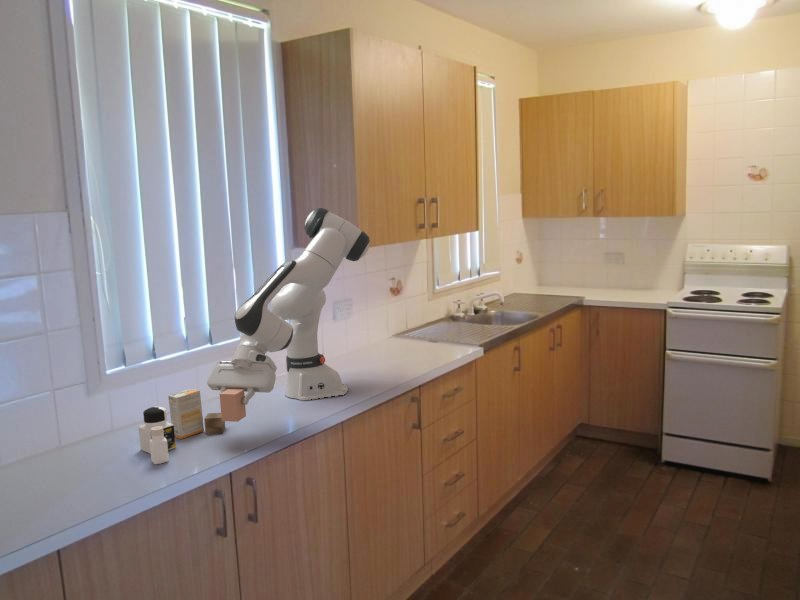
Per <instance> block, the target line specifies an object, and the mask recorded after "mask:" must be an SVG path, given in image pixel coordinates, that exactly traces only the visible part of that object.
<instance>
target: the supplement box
mask: <svg viewBox="0 0 800 600" xmlns="http://www.w3.org/2000/svg"><path fill="white" fill-rule="evenodd" d="M167 396H168V397H167V398H168V405H169V407H168V408H169V415H170V423H171V424H174V433H175V439H179V440H183V439H185V438H189V437H191V436H193V435H196V434H199V433H203V432H204V431H205V430H204V429H205V426H204V419H203V408H202V399H201V397H202V396H201V390H198V389H195V388H188V389H185V390H182V391H178V392H174V393H171V394H168V395H167Z"/></svg>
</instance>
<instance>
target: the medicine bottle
mask: <svg viewBox="0 0 800 600" xmlns="http://www.w3.org/2000/svg"><path fill="white" fill-rule="evenodd" d="M142 414H143V424H142V425H139V426H138V436H139V444H140V445H139V446H140V450H141V451H144V452H145V453H148V454H149V455H151V453H150V443H149V441H150V440H151V439H152V436H151V428H153V427H156V426H162V427H163V432H164V434H163V435H164V437H165V438H166V440H167V446H168V451H169V450H172V449H175V448H176V446H177V445H176V437H175V433H174V424H171V422H168V417H167V409H166V408H165V407H162V406H151V407H148V408H147V409H145V410H143V413H142Z"/></svg>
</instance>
